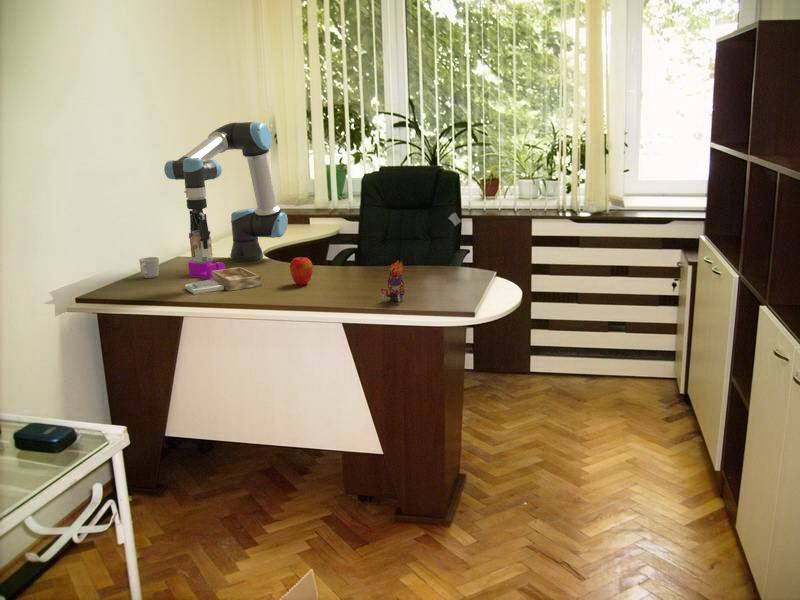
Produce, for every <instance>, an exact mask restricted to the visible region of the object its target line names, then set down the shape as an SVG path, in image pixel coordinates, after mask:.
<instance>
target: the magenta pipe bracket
mask: <svg viewBox="0 0 800 600" xmlns="http://www.w3.org/2000/svg"><path fill="white" fill-rule="evenodd" d="M187 265H188V274H189V277H190V278H191V277H192V278H200V279H206V280H211V278H212V272H211V271H216V270H223V269H226V266H225V263H224V262H220V261H217V262H214V263H213V260H212V261H211V262H208V263H194V262H193V261H192V259H190V260H188V262H187Z"/></svg>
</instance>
